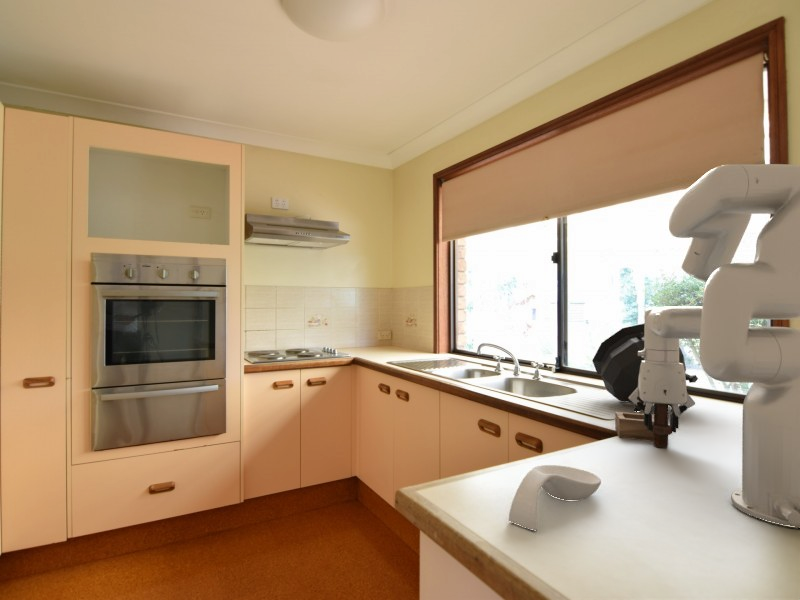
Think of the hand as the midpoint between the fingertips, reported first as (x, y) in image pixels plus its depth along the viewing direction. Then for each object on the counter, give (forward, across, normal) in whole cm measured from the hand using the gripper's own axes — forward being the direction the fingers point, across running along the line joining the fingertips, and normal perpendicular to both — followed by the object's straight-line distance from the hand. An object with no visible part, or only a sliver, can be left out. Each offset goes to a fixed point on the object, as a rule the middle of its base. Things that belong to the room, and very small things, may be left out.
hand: (660, 429), depth 111 cm
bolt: (+5, 0, 0) cm, 5 cm away
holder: (+4, -4, +9) cm, 11 cm away
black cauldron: (+5, +4, +46) cm, 46 cm away
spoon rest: (+5, -25, -43) cm, 50 cm away
